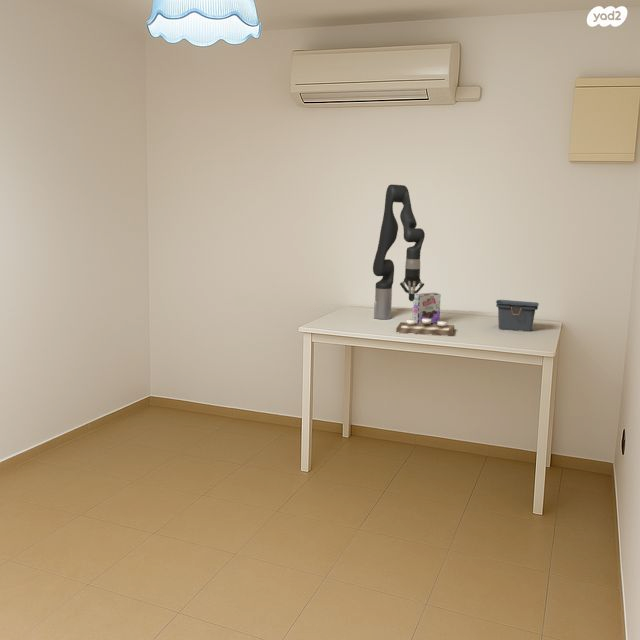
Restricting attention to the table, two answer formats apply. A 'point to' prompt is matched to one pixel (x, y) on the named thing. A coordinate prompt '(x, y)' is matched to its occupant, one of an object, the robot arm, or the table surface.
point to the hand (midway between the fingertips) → (411, 301)
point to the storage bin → (516, 314)
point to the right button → (442, 323)
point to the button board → (425, 329)
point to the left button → (410, 322)
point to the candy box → (426, 307)
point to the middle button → (426, 320)
